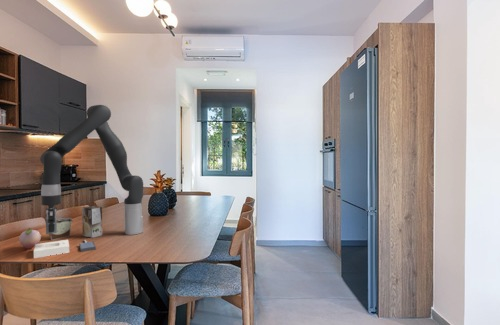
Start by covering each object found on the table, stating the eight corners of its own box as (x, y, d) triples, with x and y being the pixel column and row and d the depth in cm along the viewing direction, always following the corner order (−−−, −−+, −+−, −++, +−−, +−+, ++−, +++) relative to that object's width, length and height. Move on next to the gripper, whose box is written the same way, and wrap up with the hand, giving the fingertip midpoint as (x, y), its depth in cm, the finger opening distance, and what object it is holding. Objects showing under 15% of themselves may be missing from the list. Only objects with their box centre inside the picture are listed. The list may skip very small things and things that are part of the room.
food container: (67, 234, 163) (66, 216, 163) (72, 235, 160) (72, 217, 159) (42, 239, 152) (42, 221, 152) (48, 241, 149) (47, 222, 149)
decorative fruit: (42, 248, 136) (42, 228, 136) (20, 252, 131) (20, 231, 130) (39, 244, 143) (39, 224, 143) (18, 248, 137) (18, 227, 137)
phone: (91, 239, 150) (91, 237, 150) (95, 249, 134) (95, 246, 134) (78, 241, 147) (78, 239, 147) (81, 251, 131) (81, 249, 131)
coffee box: (103, 235, 160) (102, 206, 160) (92, 238, 154) (91, 208, 154) (92, 233, 164) (92, 205, 164) (81, 236, 159) (81, 207, 158)
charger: (56, 231, 134) (56, 216, 134) (56, 232, 131) (56, 217, 131) (46, 232, 132) (46, 217, 132) (46, 234, 129) (45, 218, 129)
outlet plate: (68, 245, 141) (68, 239, 141) (69, 252, 130) (69, 245, 130) (35, 250, 134) (35, 244, 133) (33, 258, 123) (33, 251, 123)
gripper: (61, 195, 128) (61, 233, 128) (60, 192, 139) (60, 227, 140) (40, 196, 124) (40, 235, 124) (41, 193, 135) (42, 229, 135)
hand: (51, 230), depth 132 cm, fingers closed on charger, 4 cm apart
